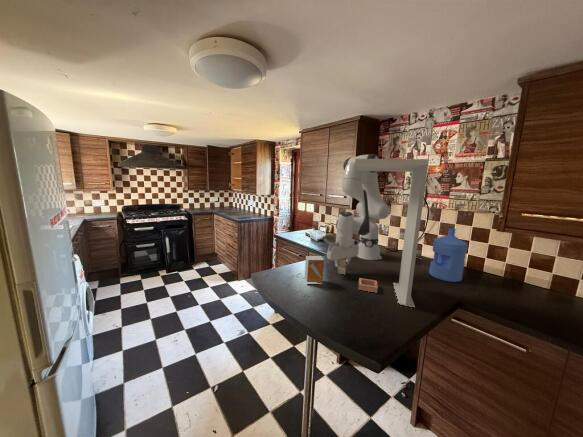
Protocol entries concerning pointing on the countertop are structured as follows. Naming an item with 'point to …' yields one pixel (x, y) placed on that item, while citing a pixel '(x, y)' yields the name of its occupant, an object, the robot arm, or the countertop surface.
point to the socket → (367, 285)
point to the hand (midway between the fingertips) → (342, 265)
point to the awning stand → (413, 216)
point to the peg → (342, 266)
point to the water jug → (448, 257)
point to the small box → (314, 269)
